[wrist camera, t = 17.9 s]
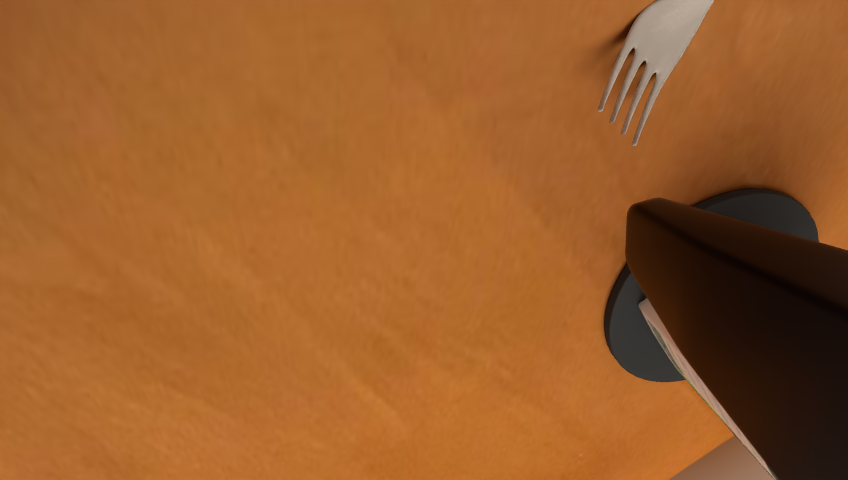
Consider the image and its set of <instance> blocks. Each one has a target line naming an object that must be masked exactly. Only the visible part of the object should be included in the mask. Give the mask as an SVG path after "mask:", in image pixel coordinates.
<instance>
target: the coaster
mask: <svg viewBox="0 0 848 480" xmlns="http://www.w3.org/2000/svg"><path fill="white" fill-rule="evenodd" d="M693 207H695V208H699V209H702V210H706V211H709V212H713V213H716V214H720V215H724V216H727V217H731V218H734V219H738V220H741V221H745V222H748V223H752V224H756V225H759V226H763V227H766V228H770V229H773V230H777V231H780V232H784V233H788V234H791V235H795V236H798V237H802V238H805V239H809V240H812V241H816V242H819V240H818V232H817V228H816V225H815V222H814V220H813V218H812V217H811V215H810V213H809V212H808V211H807V210H806V209H805V207H804V206H803V205H801V204H800V203H798V202H797V201H795V200H794V199H792V198H791V197H789V196H788V195H785V194H783V193H780V192H778V191H773V190H768V189H744V190H737V191H732V192H728V193H724V194H721V195H718V196H715V197H713V198H710V199H707V200H705V201H703V202H701V203H699V204H697V205H695V206H693ZM646 298H647V297H646V295H645V294H644V292H643V290H642V289H641V287H640V285H639V284H638V282H637V281H636V279H635V277H634V276H633V274H632V272H631V271H630V269H629V266H628V264H627V265H626V267H625V268H624V270H623V271H622V273H621V275H620V276H619V278H618V280H617V282H616V284H615V286H614V288H613V291H612V293H611V296H610V298H609V301H608V305H607V309H606V314H605V324H604V325H605V337H606V341H607V345H608V347H609V349H610V351H611V353H612V355H613V356H614V357H615V359H616V360H617V361H618V363H619V364H620V365H621V366H622V367H623V368H624V369H625V370H626V371H628V372H629V373H631V374H633V375H635V376H636V377H639V378H642V379H645V380H649V381H655V382H674V381H682V380H686V379H685V378H684V377H683V376H682V375H681V374H680V373H679V372H678V370H677V369H676V368H675V367H674V365H673V363H672V362H671V360H670V359H669V357H668V356H667V354H666V353H665V351H664V350H663V348H662V347H661V345H660V343H659V342H658V340H657V338H656V337H655V335H654V334H653V332H652V330H651V328H650V326H649V325H648V323H647V321H646V319H645V318H644V316H643V314H642V312H641V310H640V308H639V303H640V302H642V301H644V300H645V299H646Z"/></svg>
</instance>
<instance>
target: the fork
mask: <svg viewBox="0 0 848 480" xmlns="http://www.w3.org/2000/svg"><path fill="white" fill-rule="evenodd" d="M713 1H714V0H657V1H655V2H653V3H652V4H650V5H649V6H648V7H646V8H645V9H644V10H643V11H642V12H641V13H640V14H639V16H638V17H637V18H636V20H635V21H634V23H633V25H632V27H631V29H630V31H629V33H628V35H627V37H626V39H625V41H624V44H623V46H622V48H621V50H620V52H619V55H618V57H617V59H616V62H615V64H614V67H613V69H612V72H611V75H610V77H609V80H608V82H607V85H606V88H605V91H604V93H603V96H602V99H601V102H600V105H599V108H598V111H599V112H601V111H603V108H604V105H605V103H606V100H607V98H608V95H609V93H610V91H611V89H612V87H613V84H614V82H615V80H616V78H617V76H618V74H619V72H620V70H621V68H622V65H623V63H624V61H625V59H626V58H627V56H628V54H629V52H630V51H631V49H632V48H635V54H634V57H633V60H632V63H631V65H630V68H629V70H628V72H627V75H626V77H625V80H624V83H623V85H622V88H621V91H620V93H619V96H618V99H617V101H616V104H615V107H614V110H613V113H612V116H611V119H610V123H614V121H615V119H616V116H617V114H618V111H619V109H620V106H621V104H622V102H623V100H624V97H625V95H626V93H627V91H628V89H629V87H630V84H631V82H632V80H633V78H634V76H635V74H636V72H637V70H638V68H639V66H640V65H641V63H642V62H643V61H644V60H645V61H646V66H645V69H644V72H643V74H642V77H641V79H640V82H639V84H638V87H637V89H636V92H635V94H634V97H633V100H632V103H631V105H630V108H629V111H628V114H627V116H626V119H625V122H624V125H623V128H622V132H621V134H622V135H624V134H625V133H626V131H627V128H628V126H629V123H630V121H631V118H632V116H633V114H634V111H635V109H636V107H637V105H638V102H639V100H640V98H641V96H642V94H643V92H644V90H645V87H646V85H647V83H648V82H649V80H650V78H651V76H652V75H653V74H654V73H656V79H655V82H654V85H653V87H652V90H651V92H650V95H649V97H648V100H647V102H646V105H645V108H644V110H643V113H642V116H641V119H640V121H639V124H638V127H637V130H636V133H635V136H634V139H633V142H632V146H636V145H637V143H638V139H639V137H640V134H641V132H642V129H643V127H644V124H645V122H646V120H647V117H648V115H649V113H650V111H651V108H652V106H653V104H654V102H655V100H656V98H657V96H658V94H659V92H660V90H661V88H662V86H663V84H664V83H665V81H666V79H667V78H668V76H669V75H670V73H671V72H672V70H673V69H674V67H675V66H676V64H677V63H678V61H679V60H680V58H681V56H682V55H683V53H684V52H685V50H686V48H687V47H688V45H689V43H690V42H691V40H692V38H693V36H694V35H695V33H696V31H697V29H698V27H699V26H700V24H701V22H702V20H703V18H704V17H705V15H706V13H707V11H708V10H709V8H710V6H711V4H712V3H713Z"/></svg>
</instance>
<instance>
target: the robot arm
mask: <svg viewBox="0 0 848 480" xmlns="http://www.w3.org/2000/svg"><path fill="white" fill-rule="evenodd" d="M625 254H626V260H627V264H628V266H629V269H630V271H631V272H632V274H633V276H634V277H635V279H636V281H637V282H638V284H639V285H640V287H641V289H642V290H643V292H644V294H645V295H646V297H647V299H648V300H649V302H650V303H651V305H652V307H653V308H654V310H655V312H656V313H657V315H658V317H659V318H660V320H661V322H662V323H663V325H664V326H665V328H666V330H667V331H668V333H669V335H670V336H671V338H672V340H673V341H674V343H675V344H676V346H677V347H678V349H679V350H680V352H681V353H682V355H683V356H684V358H685V359H686V361H687V362H688V363H689V365H690V366H691V367H692V369H693V370H694V371H695V373H696V374H697V375H698V376H699V378H700V379H701V380H702V382H703V383H704V384H705V385H706V387H707V388H708V389H709V391H710V392H711V393H712V395H713V396H714V397H715V398H716V400H717V401H718V402H719V404H720V405H721V406H722V407H723V409H724V410H725V411H726V413H727V414H728V415H729V416H730V418H731V419H732V420H733V422H734V423H735V424H736V425H737V427H738V428H739V429H740V431H741V432H742V433H743V434H744V436H745V437H746V438H747V440H748V441H749V442H750V444H751V445H752V446H753V447H754V449H755V450H756V451H757V453H758V454H759V455H760V456H761V458H762V459H763V460H764V462H765V463H766V464H767V465H768V467H769V468H770V469H771V471H772V472H773V473H774V474H775V476H776V477H777V478H778V480H848V250H844V249H841V248H837V247H834V246H830V245H827V244H823V243H819V242H816V241H812V240H809V239H805V238H802V237H798V236H795V235H791V234H788V233H784V232H780V231H777V230H773V229H770V228H766V227H763V226H759V225H756V224H752V223H748V222H745V221H741V220H738V219H734V218H731V217H727V216H724V215H720V214H716V213H713V212H709V211H706V210H702V209H699V208H695V207H692V206H688V205H685V204H681V203H677V202H674V201H670V200H667V199H663V198H653V199H649V200H646V201H643V202H639V203H636V204H633V205H632V206H631V207H630V208H629V210H628V213H627V226H626V248H625Z"/></svg>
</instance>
